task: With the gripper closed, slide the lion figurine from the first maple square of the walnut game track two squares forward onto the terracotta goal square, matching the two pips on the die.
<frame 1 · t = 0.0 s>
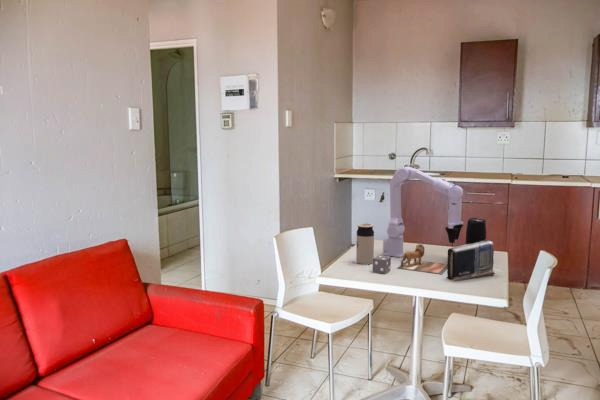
hand: (453, 241, 233), 10 cm above the table, tool pointing down, fingers open, 7 cm apart
die: (381, 271, 221), on the table
radio: (470, 277, 212), on the table
travel mug: (364, 262, 235), on the table
portable speaker: (474, 259, 240), on the table
lion figurine: (412, 265, 230), resting on board
board: (424, 266, 227), on the table
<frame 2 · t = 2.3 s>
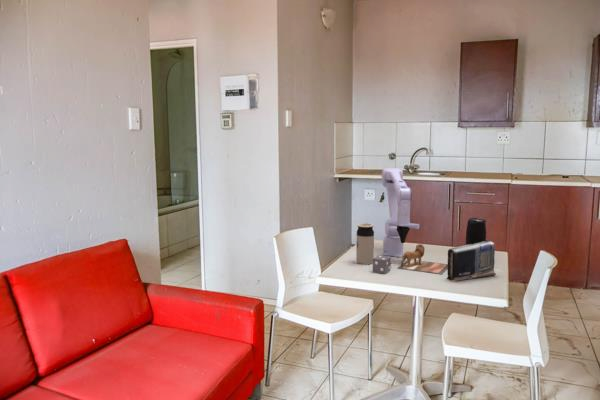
hand: (402, 242, 234), 9 cm above the table, tool pointing down, fingers closed
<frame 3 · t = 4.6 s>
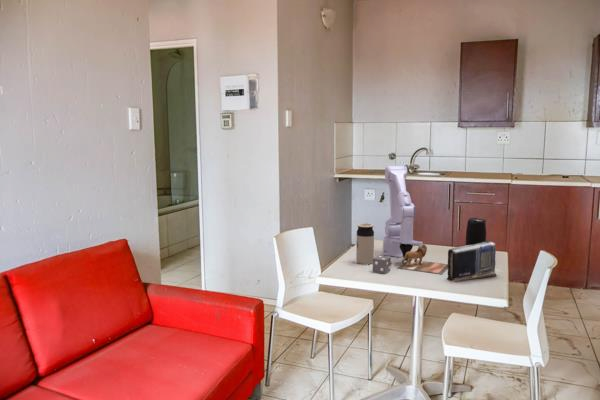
hand: (405, 260, 231), 2 cm above the table, tool pointing down, fingers closed
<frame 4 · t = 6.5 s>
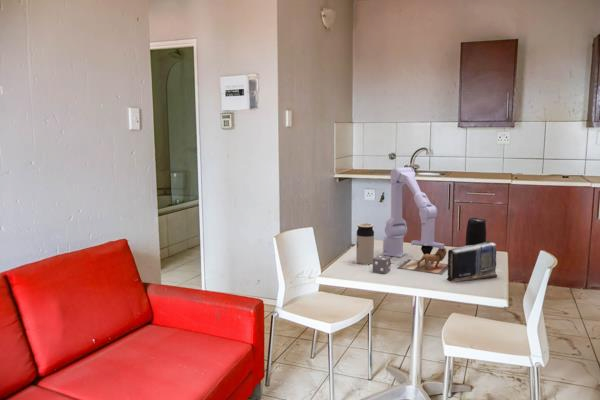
hand: (426, 262, 226), 2 cm above the table, tool pointing down, fingers closed, pressing on lion figurine
lion figurine: (428, 265, 226), point 1 cm above the table, touching board, gripper
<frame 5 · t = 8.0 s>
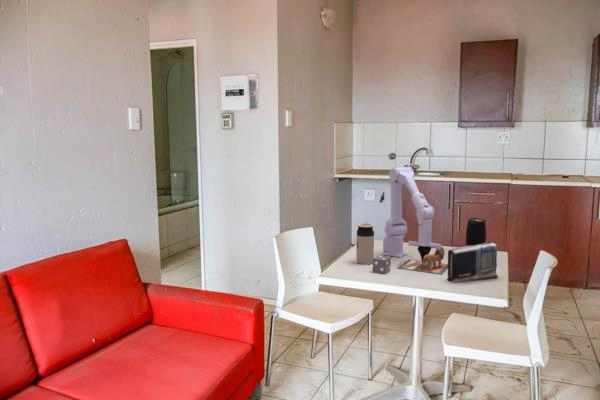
hand: (424, 262, 227), 2 cm above the table, tool pointing down, fingers closed
lion figurine: (432, 268, 225), resting on board, touching gripper
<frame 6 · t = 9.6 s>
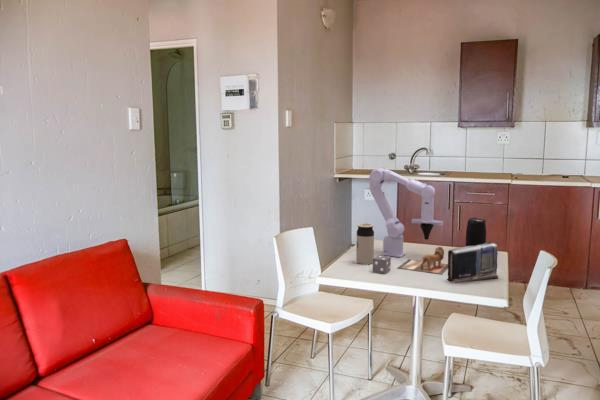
hand: (426, 239, 241), 9 cm above the table, tool pointing down, fingers closed
lion figurine: (432, 268, 225), resting on board
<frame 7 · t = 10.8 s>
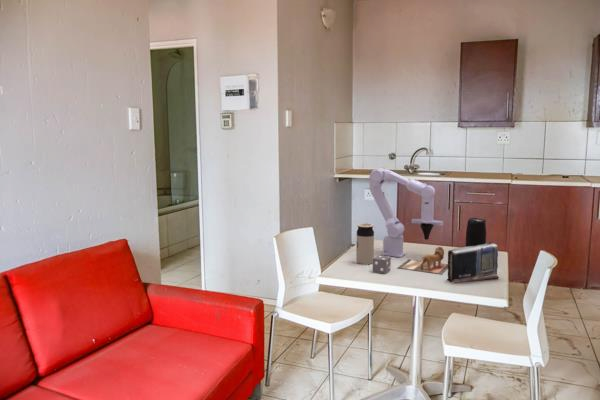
hand: (426, 239, 241), 9 cm above the table, tool pointing down, fingers closed
at the end: lion figurine 2.3 cm from the target spot on the board, point 0.0 cm above the board's base; lion figurine tilted 0°; the gripper is holding nothing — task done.
